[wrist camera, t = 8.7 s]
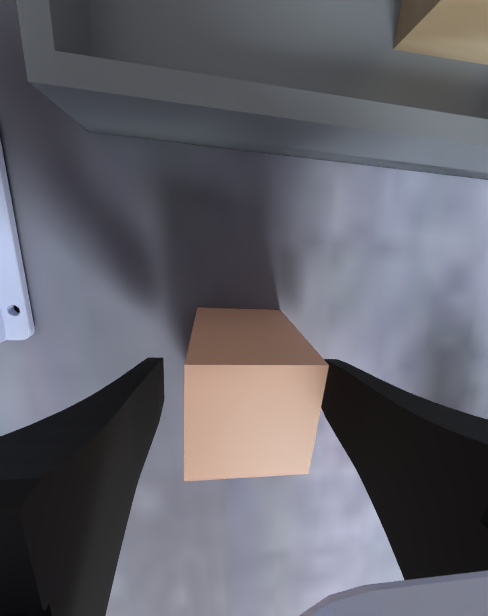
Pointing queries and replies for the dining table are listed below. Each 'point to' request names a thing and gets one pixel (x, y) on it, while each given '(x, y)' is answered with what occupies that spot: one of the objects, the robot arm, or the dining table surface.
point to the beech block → (444, 29)
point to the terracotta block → (249, 395)
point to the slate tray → (260, 79)
